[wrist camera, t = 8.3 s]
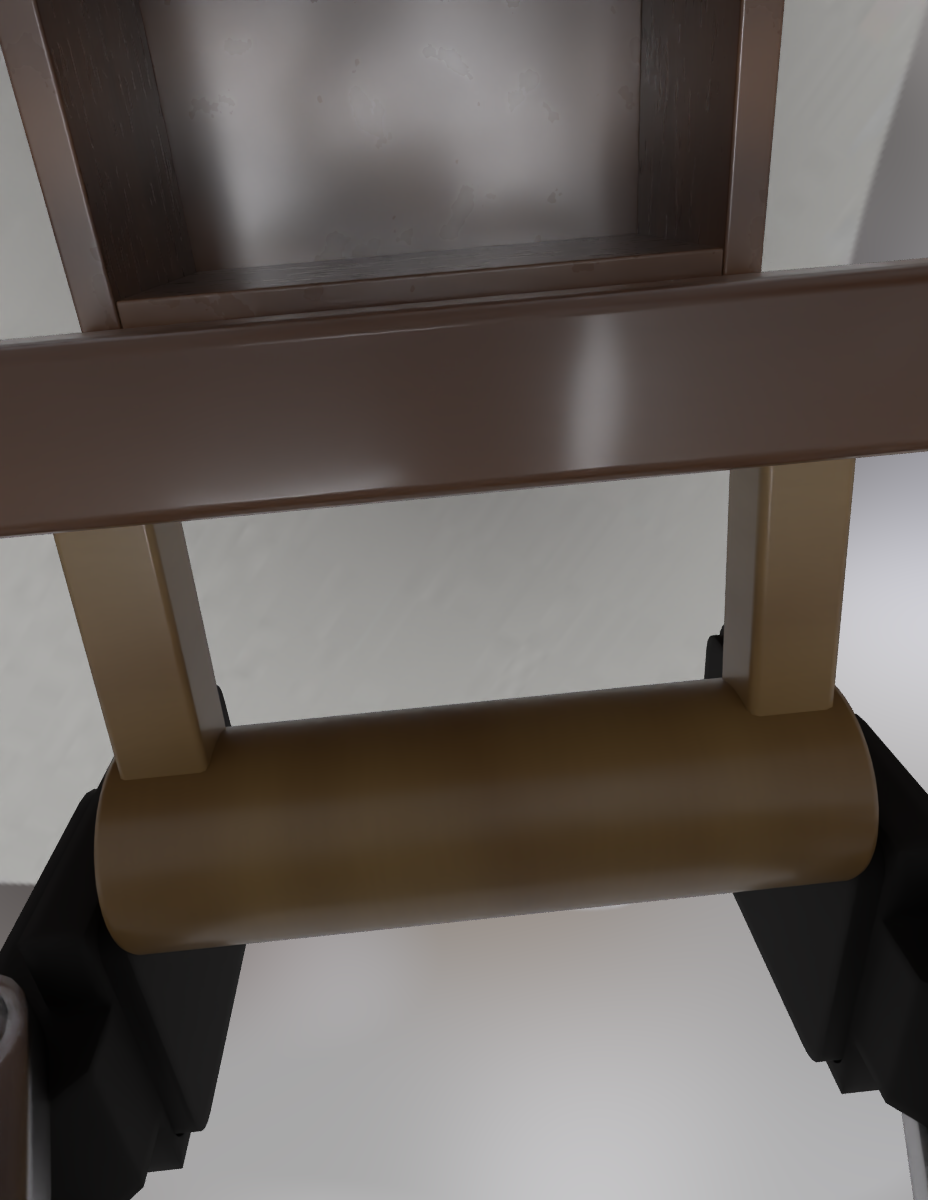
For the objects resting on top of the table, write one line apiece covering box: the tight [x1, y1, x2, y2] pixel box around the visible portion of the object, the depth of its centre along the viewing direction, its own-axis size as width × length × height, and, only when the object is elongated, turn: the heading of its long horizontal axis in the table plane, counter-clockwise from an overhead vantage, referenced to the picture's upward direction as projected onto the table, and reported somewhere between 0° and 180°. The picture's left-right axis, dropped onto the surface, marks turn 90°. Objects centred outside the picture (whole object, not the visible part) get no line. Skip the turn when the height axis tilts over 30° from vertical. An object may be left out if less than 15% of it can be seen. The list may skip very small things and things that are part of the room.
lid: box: [0, 258, 928, 955], centre depth 12 cm, size 17×17×5 cm
